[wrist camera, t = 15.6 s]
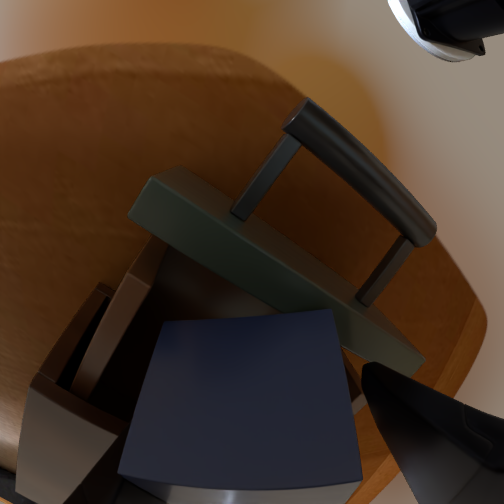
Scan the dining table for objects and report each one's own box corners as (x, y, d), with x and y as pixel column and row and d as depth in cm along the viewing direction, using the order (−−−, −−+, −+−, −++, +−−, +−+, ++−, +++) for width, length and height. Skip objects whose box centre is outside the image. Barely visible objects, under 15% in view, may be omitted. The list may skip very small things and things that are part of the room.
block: (331, 307, 8) (363, 479, 4) (326, 397, 10) (338, 512, 6) (163, 320, 9) (115, 473, 4) (204, 403, 11) (188, 513, 7)
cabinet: (99, 281, 15) (28, 385, 7) (279, 377, 19) (314, 487, 11) (46, 412, 18) (15, 491, 10) (177, 471, 21) (177, 550, 13)
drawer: (239, 85, 12) (264, 27, 6) (405, 225, 15) (493, 268, 9) (73, 361, 15) (34, 442, 9) (224, 432, 19) (233, 512, 12)
